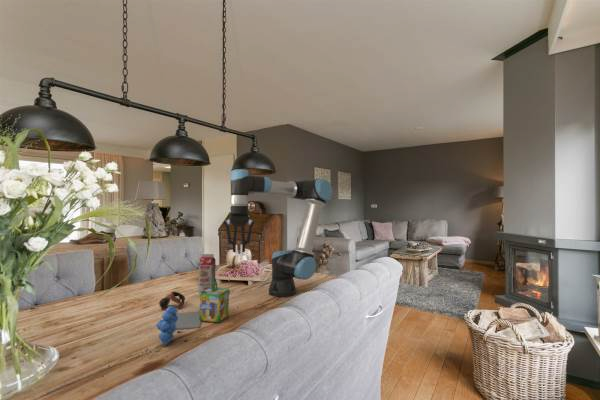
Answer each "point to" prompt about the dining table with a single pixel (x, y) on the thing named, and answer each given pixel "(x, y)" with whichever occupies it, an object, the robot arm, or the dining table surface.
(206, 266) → the juice carton
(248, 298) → the dining table surface
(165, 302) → the brown ring
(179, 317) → the mat
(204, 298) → the chalk box
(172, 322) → the grapes
